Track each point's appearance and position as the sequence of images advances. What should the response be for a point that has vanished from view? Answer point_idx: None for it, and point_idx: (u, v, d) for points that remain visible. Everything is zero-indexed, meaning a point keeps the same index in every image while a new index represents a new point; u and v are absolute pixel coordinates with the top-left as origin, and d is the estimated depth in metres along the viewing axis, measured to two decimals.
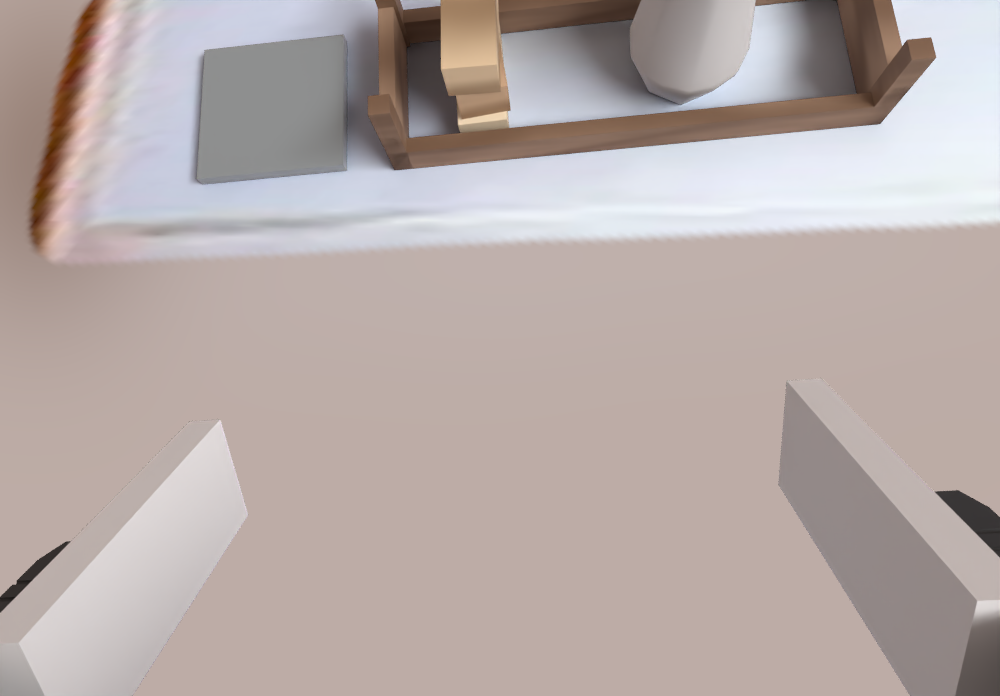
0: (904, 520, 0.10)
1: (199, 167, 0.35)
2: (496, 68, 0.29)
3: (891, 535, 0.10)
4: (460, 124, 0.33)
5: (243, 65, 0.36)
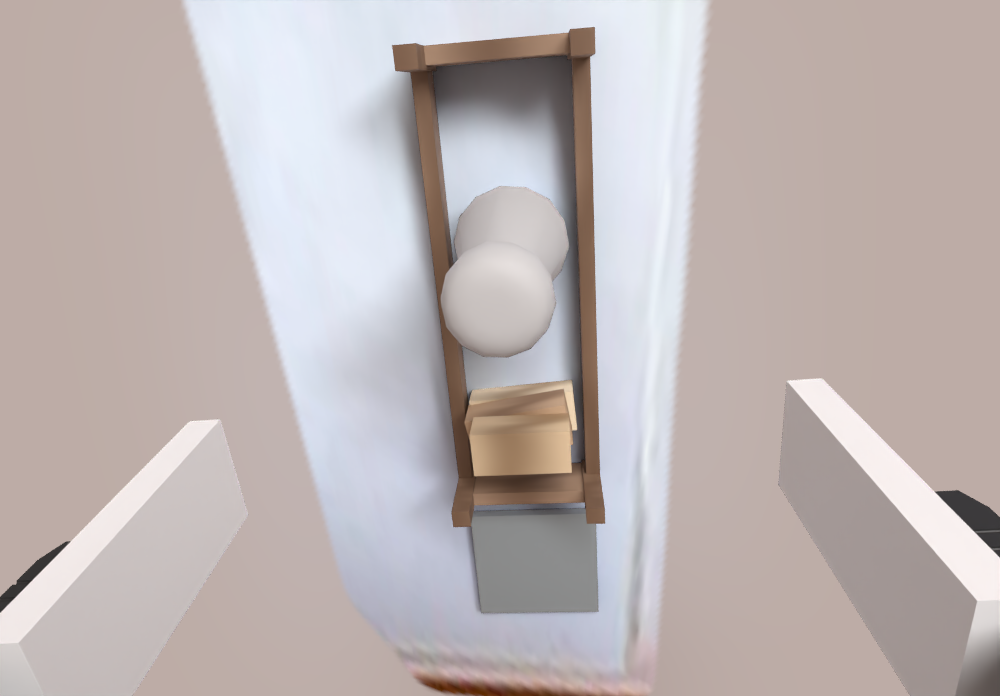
0: (904, 520, 0.10)
1: (588, 610, 0.44)
2: (568, 428, 0.34)
3: (891, 535, 0.10)
4: (576, 428, 0.38)
5: (497, 586, 0.44)
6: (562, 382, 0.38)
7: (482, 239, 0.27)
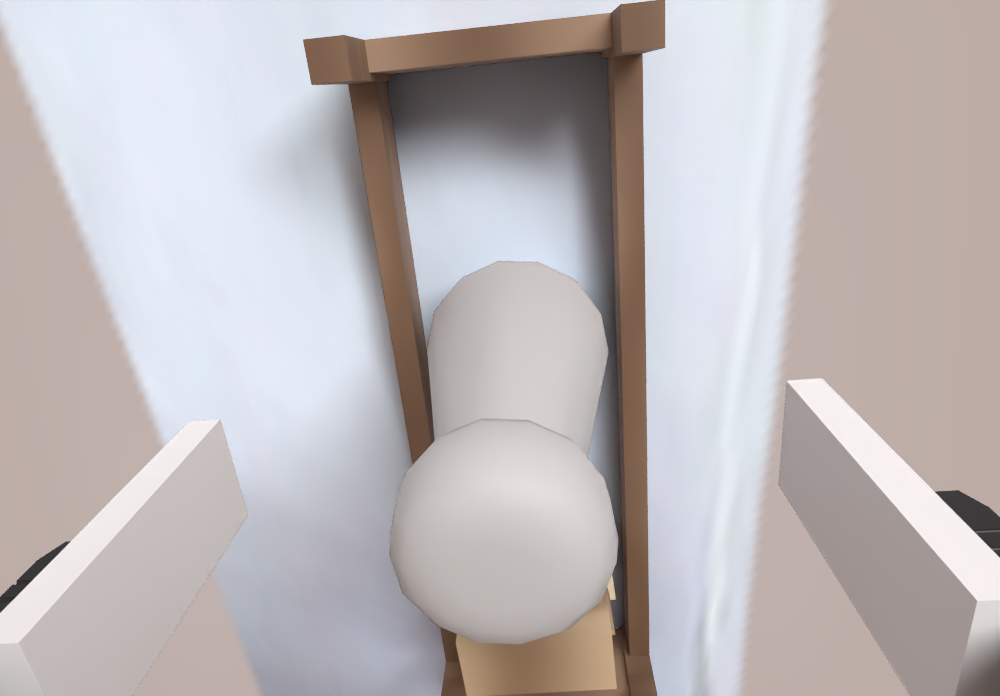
0: (904, 520, 0.10)
1: None
2: (609, 626, 0.22)
3: (891, 535, 0.10)
4: (614, 597, 0.26)
5: None
6: None
7: (469, 384, 0.15)
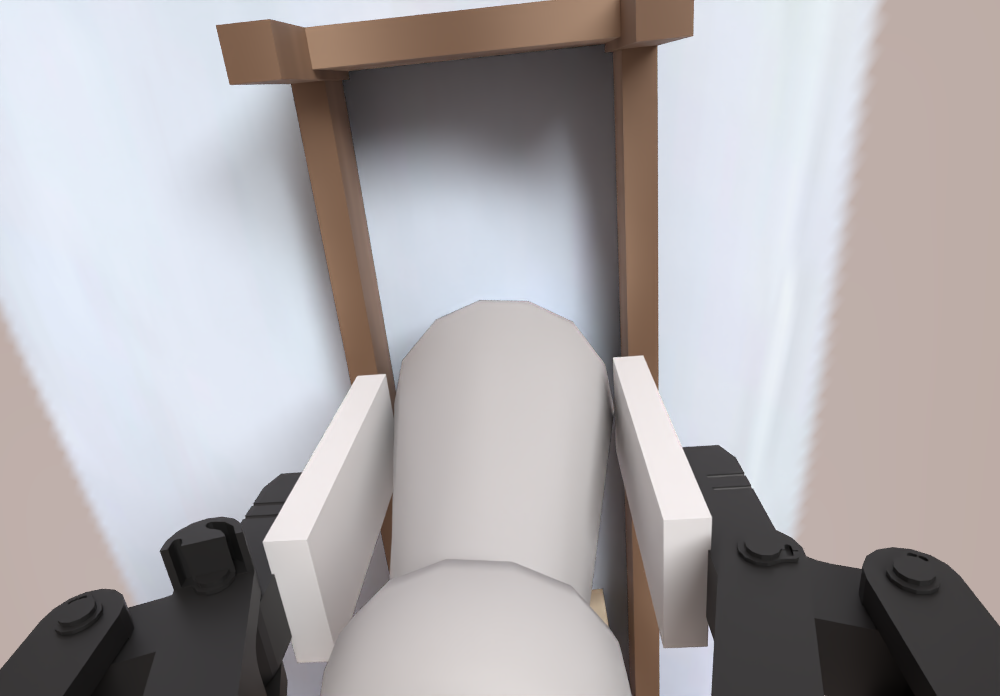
0: None
1: None
2: None
3: (643, 478, 0.12)
4: None
5: None
6: None
7: (437, 483, 0.11)
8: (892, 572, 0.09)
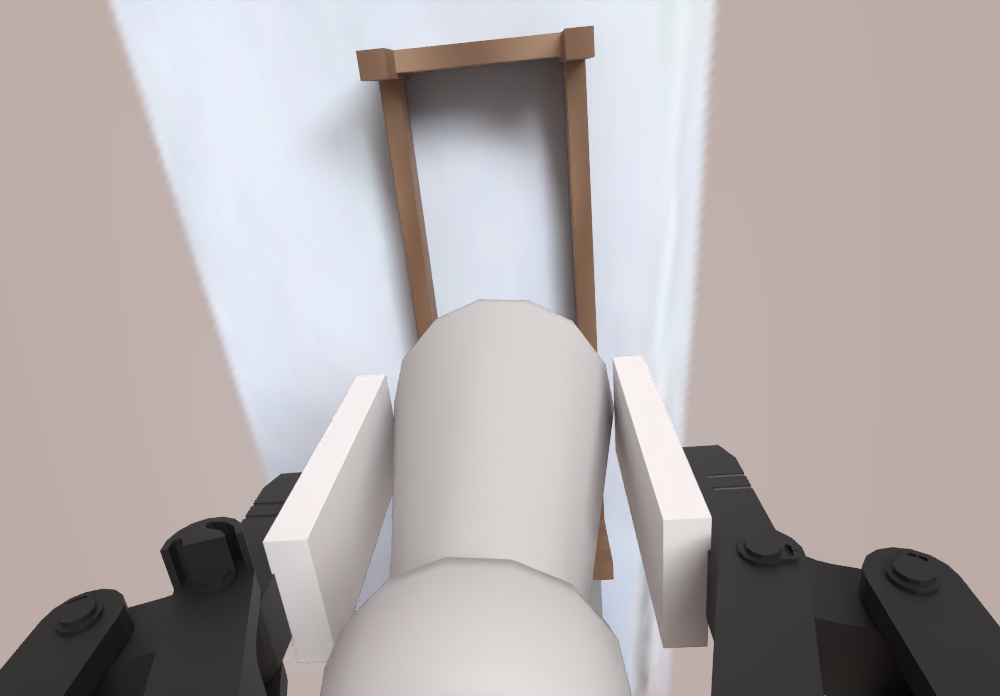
0: None
1: None
2: None
3: (643, 478, 0.12)
4: None
5: None
6: None
7: (436, 481, 0.11)
8: (892, 572, 0.09)
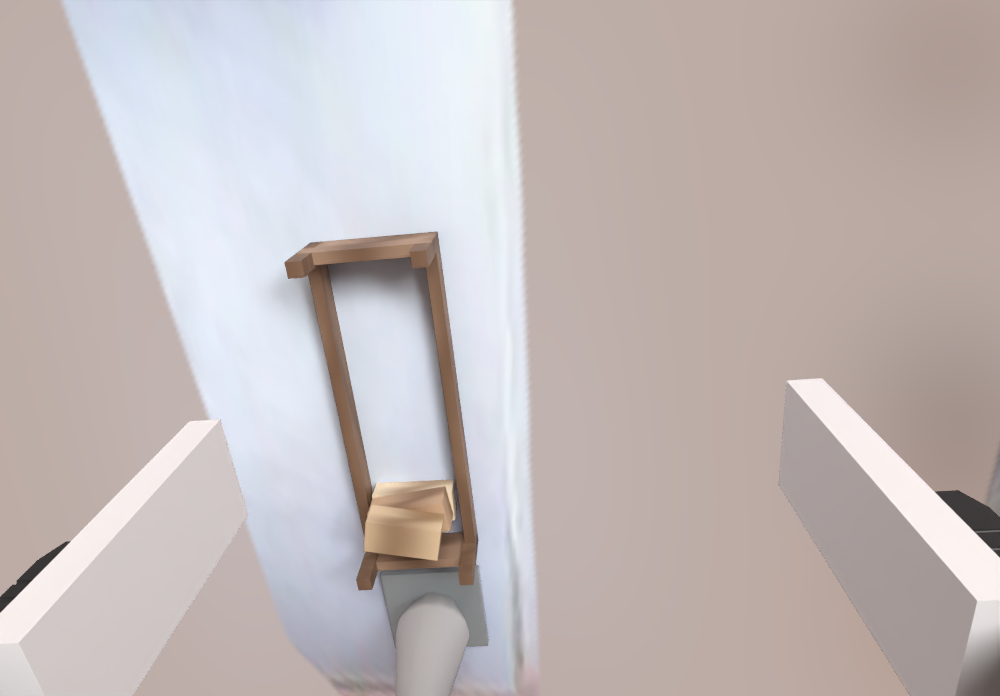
0: (904, 520, 0.10)
1: (480, 645, 0.55)
2: (440, 529, 0.45)
3: (891, 535, 0.10)
4: (454, 518, 0.49)
5: None
6: (446, 482, 0.49)
7: (407, 683, 0.46)
8: None
